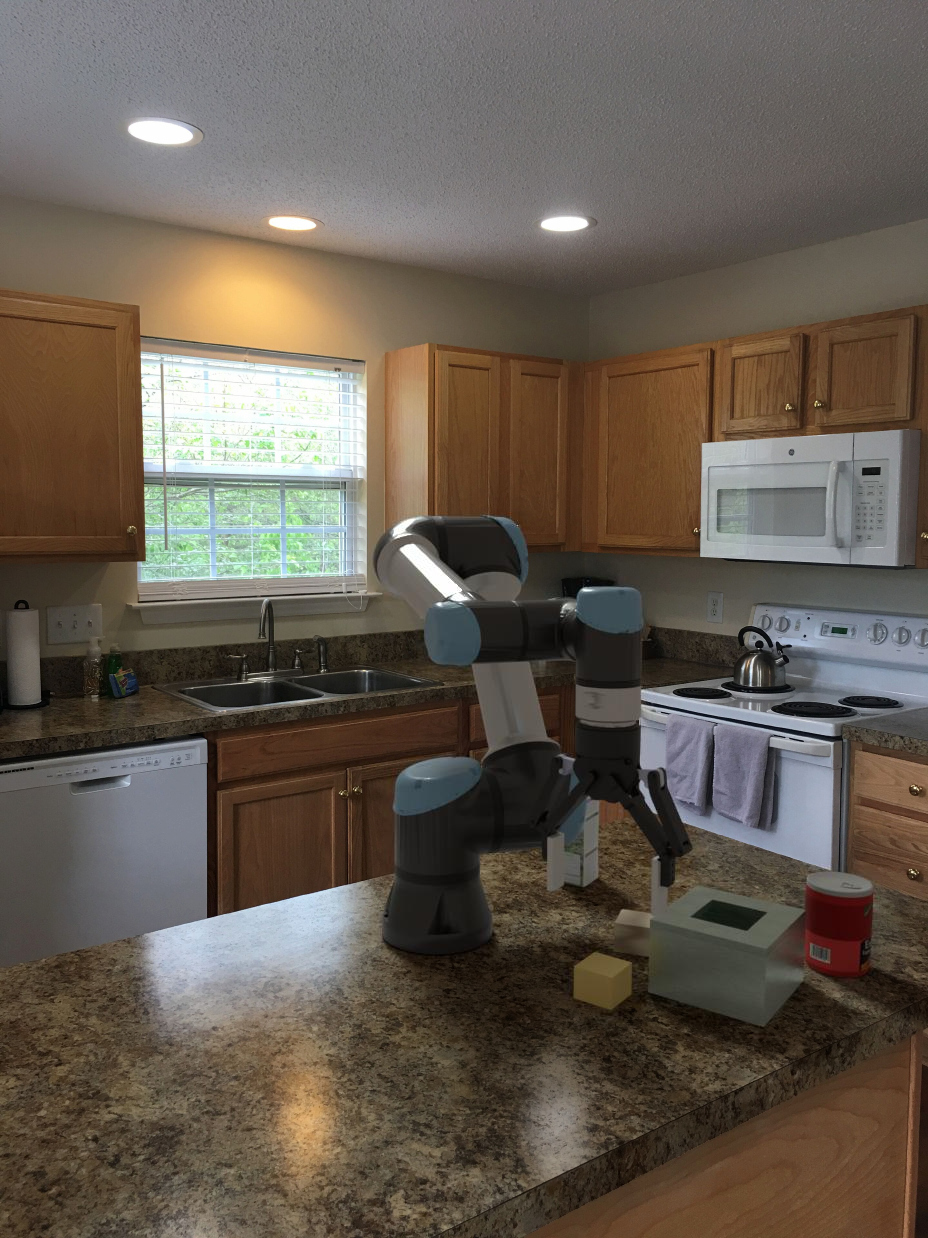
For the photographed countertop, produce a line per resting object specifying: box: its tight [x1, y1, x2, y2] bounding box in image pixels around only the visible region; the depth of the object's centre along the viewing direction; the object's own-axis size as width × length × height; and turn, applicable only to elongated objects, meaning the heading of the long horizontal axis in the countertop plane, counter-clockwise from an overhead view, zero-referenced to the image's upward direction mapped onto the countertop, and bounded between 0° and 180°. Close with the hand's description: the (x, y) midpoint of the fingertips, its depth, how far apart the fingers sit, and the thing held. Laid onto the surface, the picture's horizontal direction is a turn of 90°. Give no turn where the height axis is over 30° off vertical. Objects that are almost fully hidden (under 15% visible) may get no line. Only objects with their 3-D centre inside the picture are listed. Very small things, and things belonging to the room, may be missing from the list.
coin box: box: [647, 885, 806, 1028], centre depth 121 cm, size 14×14×9 cm
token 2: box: [613, 908, 654, 958], centre depth 132 cm, size 5×5×4 cm
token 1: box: [573, 951, 633, 1011], centre depth 118 cm, size 5×5×4 cm
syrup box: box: [564, 796, 600, 888], centre depth 157 cm, size 6×6×14 cm
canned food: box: [804, 871, 875, 979], centre depth 127 cm, size 8×8×11 cm
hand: (605, 900), depth 117 cm, fingers open, 13 cm apart
